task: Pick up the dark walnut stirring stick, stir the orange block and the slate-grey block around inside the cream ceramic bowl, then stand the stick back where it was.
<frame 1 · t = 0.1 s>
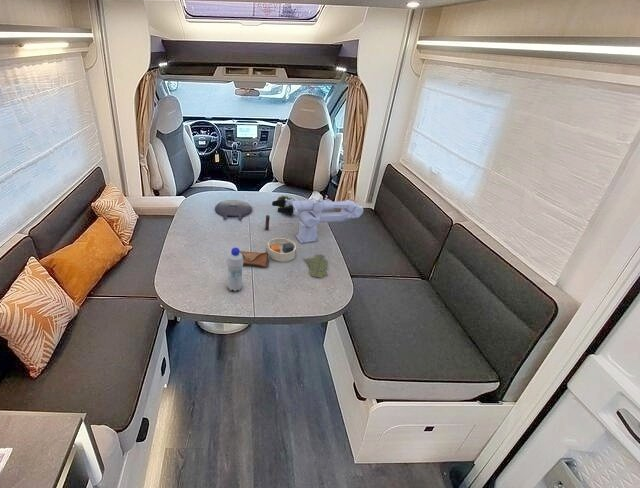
hand: (275, 206, 159), 22 cm above the table, tool horizontal, fingers open, 7 cm apart
sunglasses case: (249, 262, 152), on the table
orange block: (274, 253, 158), resting on bowl
slate block: (287, 251, 160), resting on bowl
toy spaceship: (233, 210, 201), on the table
bottle: (234, 288, 135), on the table
potted plant: (285, 213, 200), on the table
stick: (266, 229, 181), on the table
bowl: (280, 253, 159), on the table
map: (315, 265, 151), on the table
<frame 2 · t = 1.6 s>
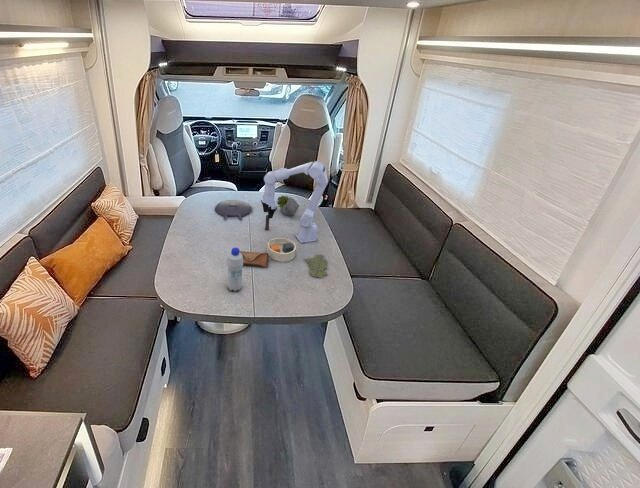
hand: (267, 214, 177), 9 cm above the table, tool pointing down, fingers open, 7 cm apart
nothing on the table moved.
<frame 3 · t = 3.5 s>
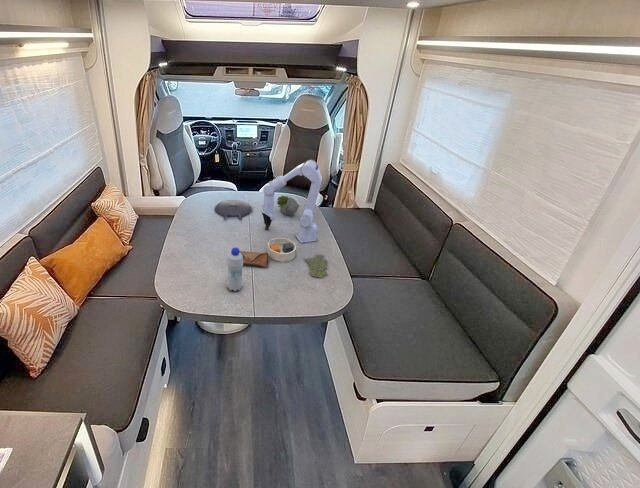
hand: (267, 224, 180), 3 cm above the table, tool pointing down, fingers closed on stick, 2 cm apart
stick: (266, 229, 181), on the table, touching gripper
everything else where it was.
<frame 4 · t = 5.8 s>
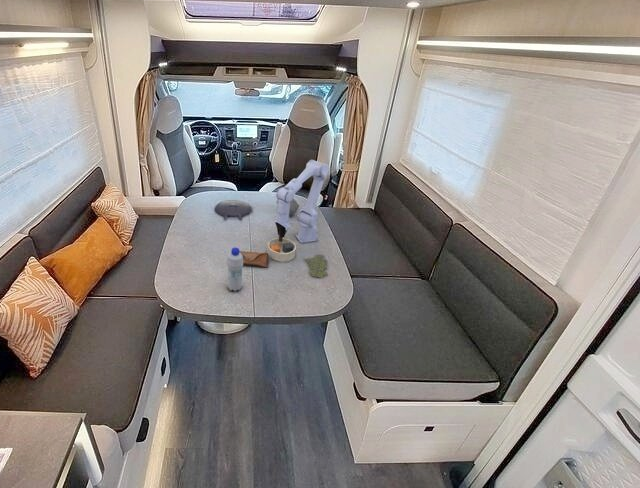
hand: (281, 235, 157), 9 cm above the table, tool pointing down, fingers closed on stick
stick: (280, 240, 158), point 7 cm above the table, touching gripper
everything else where it was.
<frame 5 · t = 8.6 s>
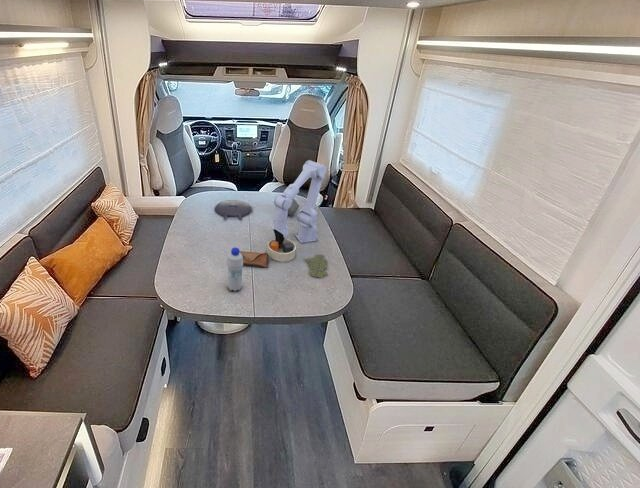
hand: (279, 242, 159), 5 cm above the table, tool pointing down, fingers closed on stick, 2 cm apart
orange block: (274, 250, 160), point 1 cm above the table, touching bowl, stick
stick: (280, 247, 159), point 2 cm above the table, tilted 5°, touching gripper, orange block
everything else where it was.
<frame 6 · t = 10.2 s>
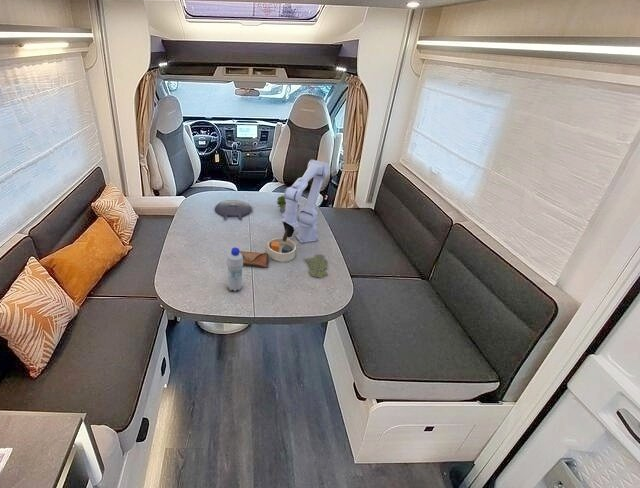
hand: (288, 235, 156), 10 cm above the table, tool pointing down, fingers closed on stick
orange block: (274, 250, 160), point 1 cm above the table, touching bowl
slate block: (286, 254, 157), point 1 cm above the table, touching bowl
stick: (284, 240, 156), point 8 cm above the table, tilted 12°, touching gripper
everything else where it was.
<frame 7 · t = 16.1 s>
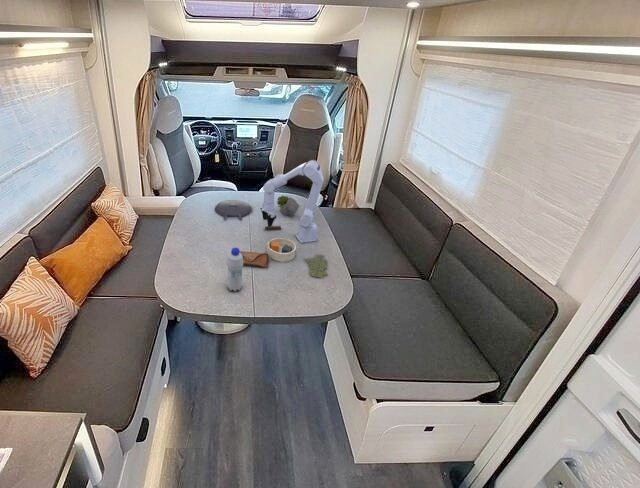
hand: (267, 222, 179), 4 cm above the table, tool pointing down, fingers open, 7 cm apart
stick: (265, 228, 180), point 1 cm above the table, tilted 90°
everything else where it was.
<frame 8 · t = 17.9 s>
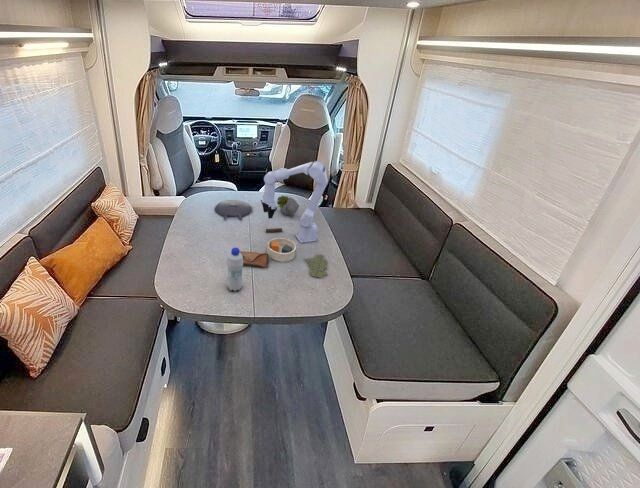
hand: (267, 215, 177), 9 cm above the table, tool pointing down, fingers open, 7 cm apart
stick: (266, 230, 178), point 1 cm above the table, tilted 90°
everything else where it was.
at the end: orange block moved 2.9 cm from its start; orange block inside the target area in the bowl (3.6 cm from its centre), point 0.5 cm above the bowl's base; stick inside the target area (3.4 cm from its centre), point 1.0 cm above the table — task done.
